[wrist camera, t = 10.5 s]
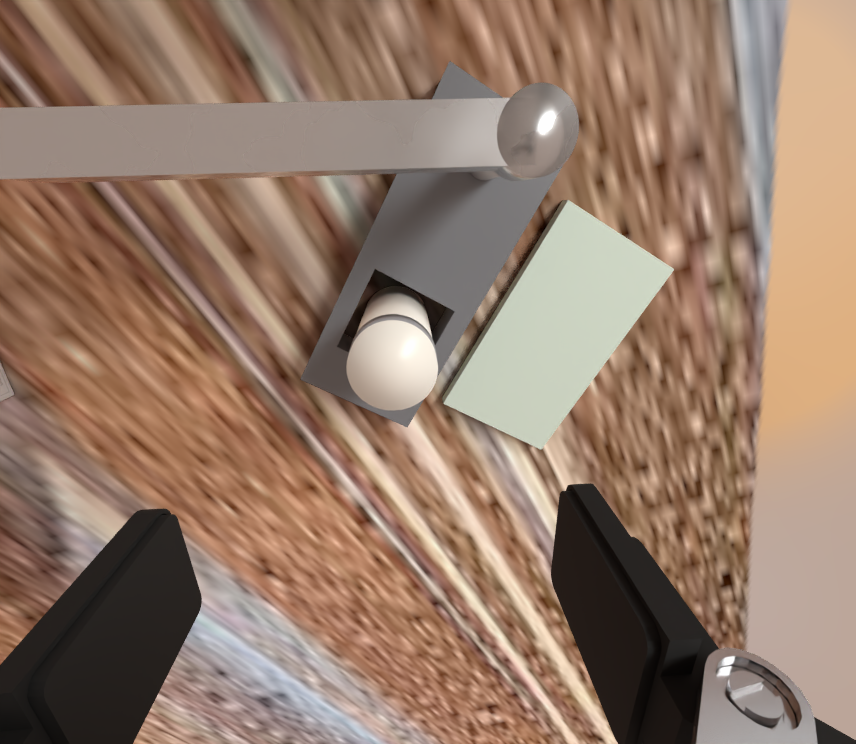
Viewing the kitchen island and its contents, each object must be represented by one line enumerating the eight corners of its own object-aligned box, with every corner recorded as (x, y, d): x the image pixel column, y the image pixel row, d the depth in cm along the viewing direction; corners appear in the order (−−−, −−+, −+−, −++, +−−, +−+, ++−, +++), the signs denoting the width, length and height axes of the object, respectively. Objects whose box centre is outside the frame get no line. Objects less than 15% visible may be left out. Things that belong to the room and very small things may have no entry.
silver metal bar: (557, 99, 16) (583, 81, 13) (551, 180, 17) (573, 176, 14) (29, 109, 15) (-37, 93, 13) (58, 194, 16) (2, 192, 14)
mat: (562, 200, 27) (568, 200, 26) (665, 267, 29) (674, 269, 28) (442, 397, 32) (443, 403, 31) (537, 442, 34) (541, 449, 33)
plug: (381, 273, 28) (370, 307, 19) (439, 304, 29) (455, 351, 20) (353, 330, 29) (330, 388, 20) (409, 357, 30) (411, 424, 21)
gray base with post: (444, 77, 24) (470, -5, 14) (555, 153, 26) (642, 123, 16) (309, 363, 30) (267, 435, 21) (407, 407, 32) (408, 492, 22)
